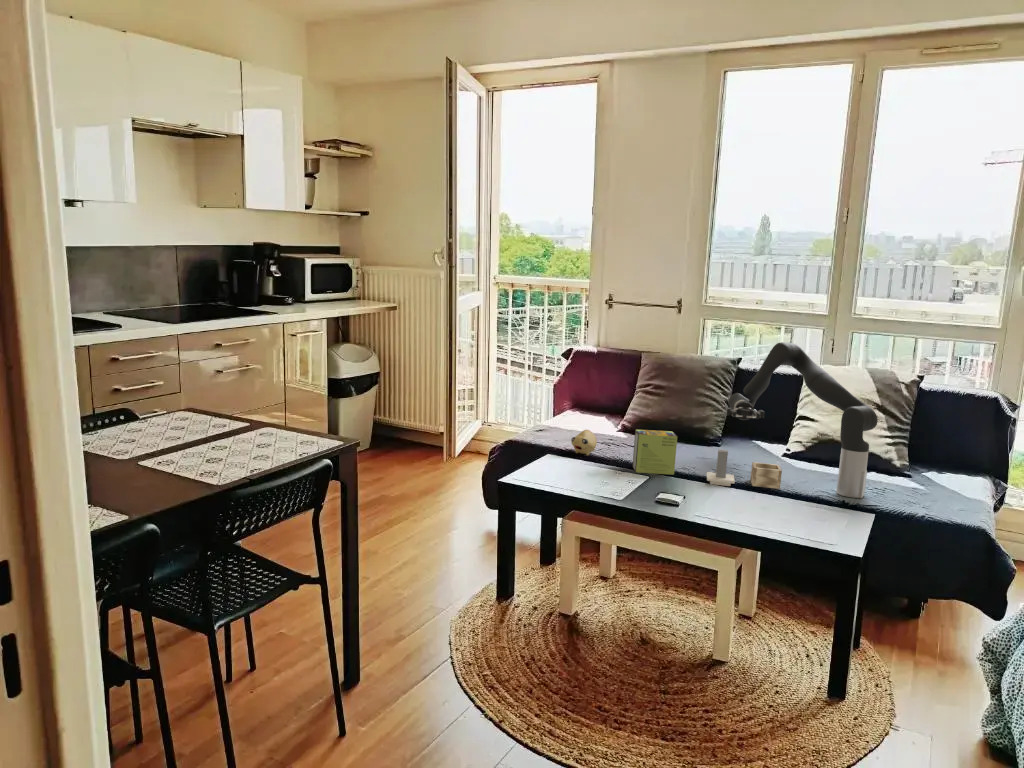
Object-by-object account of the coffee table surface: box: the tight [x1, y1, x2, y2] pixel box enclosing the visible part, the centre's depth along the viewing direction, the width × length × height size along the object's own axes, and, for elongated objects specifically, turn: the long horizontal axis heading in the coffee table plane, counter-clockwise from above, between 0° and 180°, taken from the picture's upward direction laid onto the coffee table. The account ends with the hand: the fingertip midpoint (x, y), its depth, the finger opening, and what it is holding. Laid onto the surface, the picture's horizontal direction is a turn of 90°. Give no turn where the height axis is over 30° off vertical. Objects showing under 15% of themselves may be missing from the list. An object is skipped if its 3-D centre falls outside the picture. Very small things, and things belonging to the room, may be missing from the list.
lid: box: [706, 449, 736, 487], centre depth 292 cm, size 10×10×12 cm
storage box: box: [750, 461, 783, 490], centre depth 294 cm, size 10×10×7 cm
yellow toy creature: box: [570, 429, 598, 457], centre depth 329 cm, size 10×12×11 cm
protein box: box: [632, 429, 678, 476], centre depth 306 cm, size 10×15×16 cm
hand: (746, 415), depth 300 cm, fingers open, 8 cm apart
